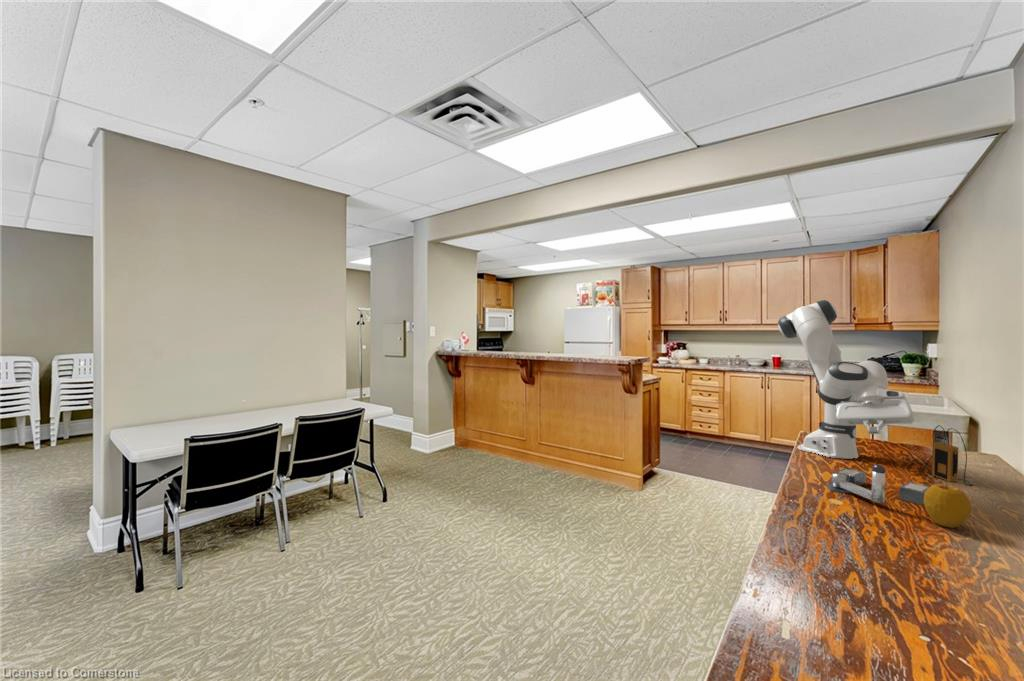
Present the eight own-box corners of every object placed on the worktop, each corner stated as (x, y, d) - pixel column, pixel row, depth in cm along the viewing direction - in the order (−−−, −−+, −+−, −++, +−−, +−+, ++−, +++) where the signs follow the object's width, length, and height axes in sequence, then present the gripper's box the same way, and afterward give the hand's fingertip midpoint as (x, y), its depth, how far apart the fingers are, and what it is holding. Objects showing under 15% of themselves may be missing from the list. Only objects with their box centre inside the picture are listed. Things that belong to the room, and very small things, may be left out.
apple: (971, 525, 123) (973, 485, 123) (970, 536, 117) (971, 493, 117) (924, 514, 131) (926, 476, 130) (920, 524, 124) (922, 483, 124)
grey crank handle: (828, 484, 153) (829, 450, 152) (838, 483, 153) (839, 450, 153) (877, 504, 135) (878, 466, 135) (888, 503, 136) (889, 466, 135)
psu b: (834, 483, 157) (834, 471, 157) (846, 478, 163) (846, 467, 163) (854, 488, 152) (854, 476, 152) (865, 483, 158) (865, 471, 157)
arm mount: (830, 491, 149) (831, 488, 149) (825, 485, 155) (825, 483, 155) (852, 493, 147) (852, 491, 147) (846, 487, 153) (846, 485, 153)
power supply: (899, 499, 143) (899, 486, 143) (909, 493, 148) (910, 481, 148) (923, 505, 138) (924, 492, 137) (933, 499, 143) (933, 486, 143)
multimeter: (988, 486, 155) (990, 431, 154) (960, 486, 155) (961, 431, 155) (947, 472, 170) (949, 422, 169) (922, 472, 170) (923, 422, 169)
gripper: (833, 396, 155) (832, 427, 147) (909, 391, 140) (913, 426, 132) (838, 407, 158) (838, 438, 150) (913, 404, 143) (917, 438, 135)
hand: (874, 432), depth 141 cm, fingers closed
